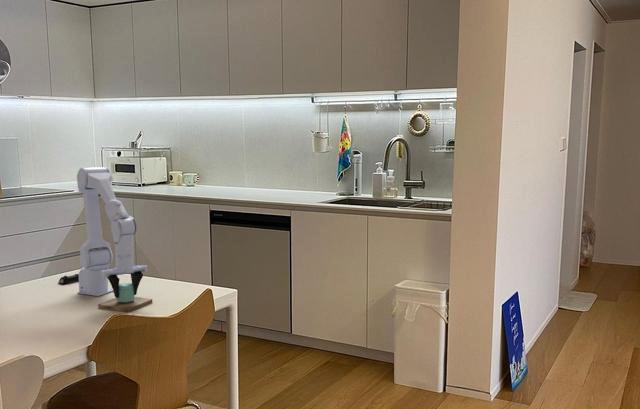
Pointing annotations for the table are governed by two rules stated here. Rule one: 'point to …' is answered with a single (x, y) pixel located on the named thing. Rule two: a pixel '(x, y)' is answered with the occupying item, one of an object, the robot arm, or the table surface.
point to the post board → (125, 304)
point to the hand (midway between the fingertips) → (125, 295)
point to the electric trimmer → (68, 279)
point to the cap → (126, 292)
